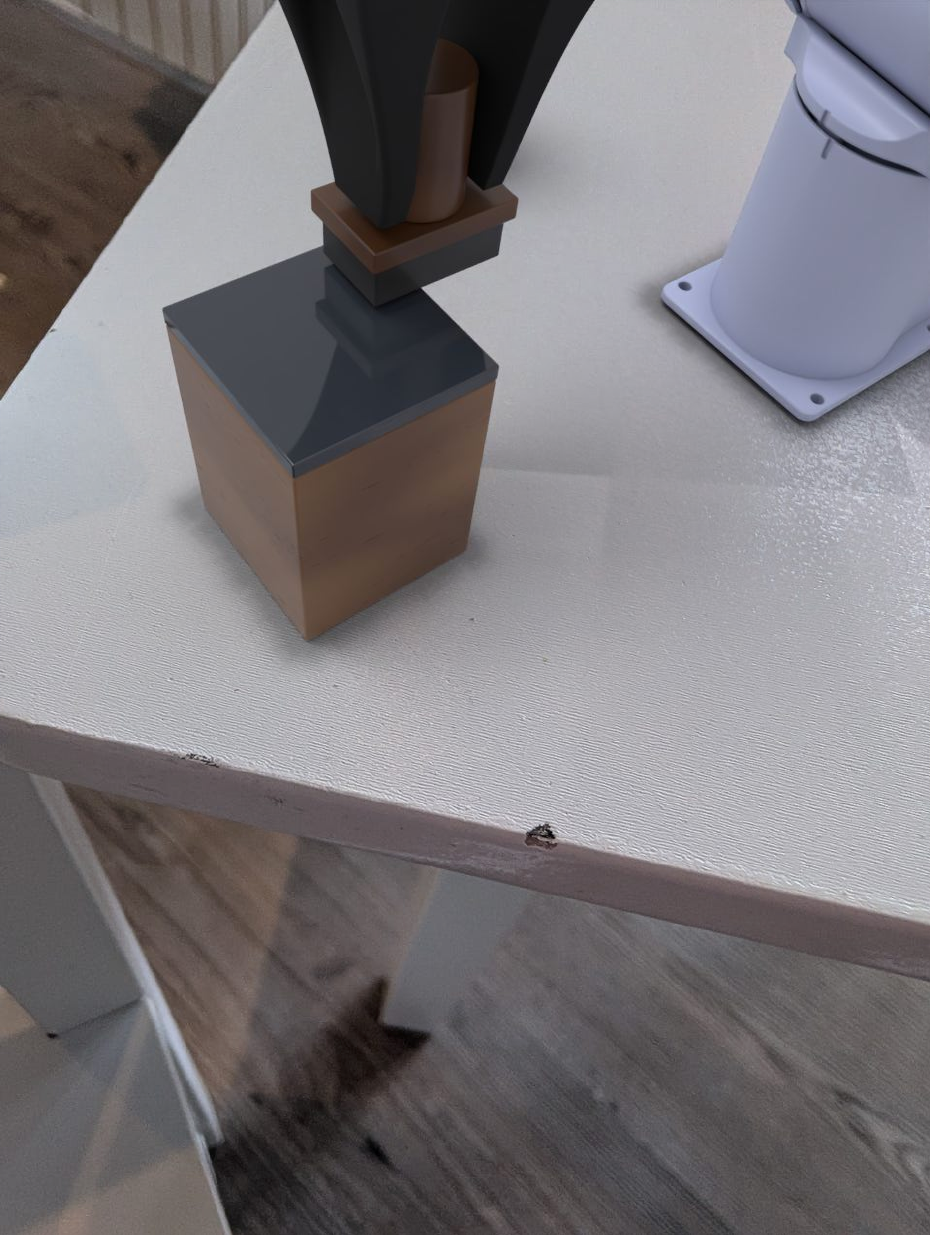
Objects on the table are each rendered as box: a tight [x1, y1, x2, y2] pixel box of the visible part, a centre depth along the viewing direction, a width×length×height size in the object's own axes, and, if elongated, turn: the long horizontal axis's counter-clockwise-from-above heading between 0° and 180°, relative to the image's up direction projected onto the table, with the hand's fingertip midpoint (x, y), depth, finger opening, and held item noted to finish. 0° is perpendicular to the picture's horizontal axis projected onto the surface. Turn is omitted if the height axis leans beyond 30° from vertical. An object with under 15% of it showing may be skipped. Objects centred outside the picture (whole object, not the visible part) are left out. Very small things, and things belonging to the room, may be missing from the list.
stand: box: [165, 324, 497, 642], centre depth 27 cm, size 6×6×8 cm
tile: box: [161, 244, 500, 479], centre depth 24 cm, size 6×6×1 cm
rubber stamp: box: [310, 38, 520, 307], centre depth 23 cm, size 4×3×5 cm, turn 127°
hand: (421, 183), depth 23 cm, fingers closed on rubber stamp, 2 cm apart
